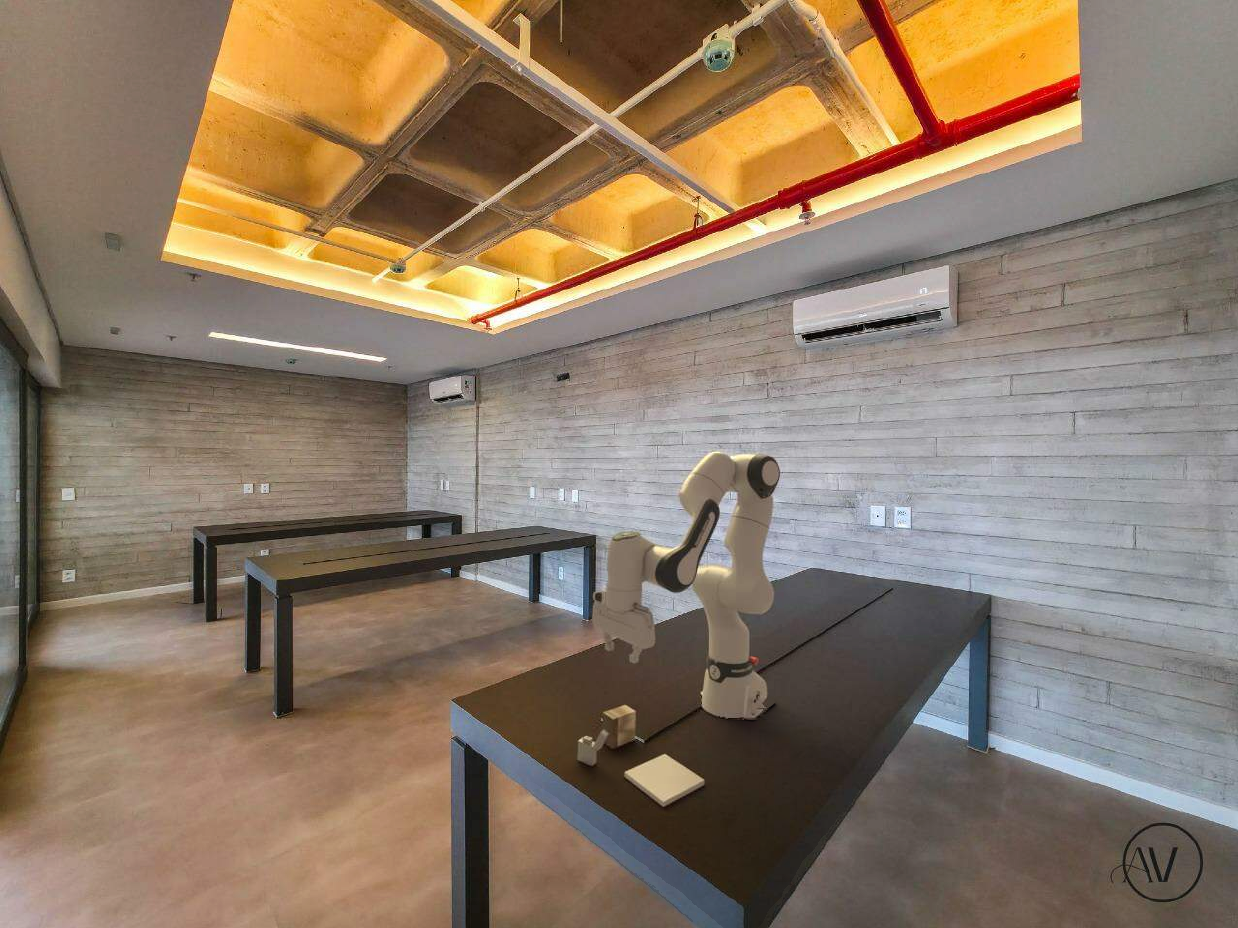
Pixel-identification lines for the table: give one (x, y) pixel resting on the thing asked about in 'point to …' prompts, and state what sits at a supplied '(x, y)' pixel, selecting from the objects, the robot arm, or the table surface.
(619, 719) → the block
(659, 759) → the tile
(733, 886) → the table surface
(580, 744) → the lighter
